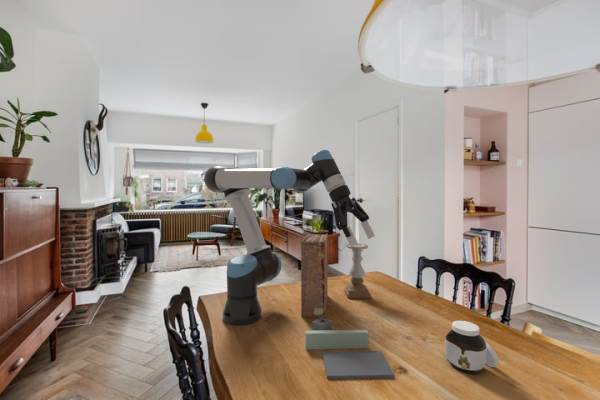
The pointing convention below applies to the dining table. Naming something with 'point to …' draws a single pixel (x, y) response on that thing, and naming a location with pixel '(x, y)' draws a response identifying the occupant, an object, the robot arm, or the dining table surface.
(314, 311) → the book
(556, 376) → the dining table surface
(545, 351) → the dining table surface
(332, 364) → the mat
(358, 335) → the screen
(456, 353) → the spread jar
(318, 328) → the dice cube
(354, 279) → the candle holder
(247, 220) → the robot arm
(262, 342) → the dining table surface
